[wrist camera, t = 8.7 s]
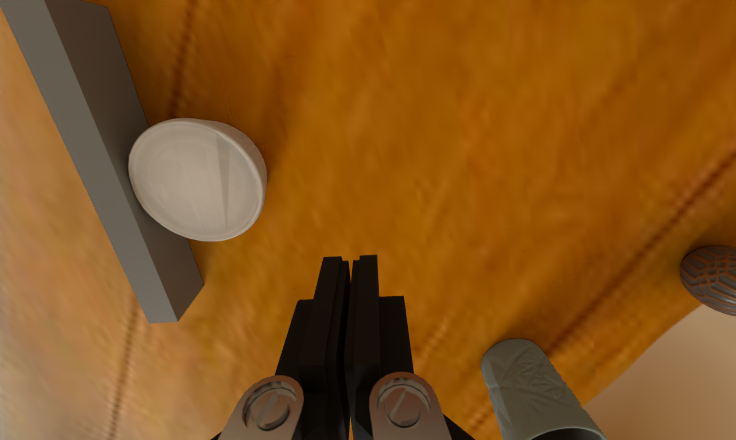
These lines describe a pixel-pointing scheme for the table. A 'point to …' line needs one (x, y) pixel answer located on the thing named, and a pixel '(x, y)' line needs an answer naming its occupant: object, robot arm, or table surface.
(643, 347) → the table surface
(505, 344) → the blue-grey plant pot
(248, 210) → the ramekin
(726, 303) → the vase
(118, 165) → the board
